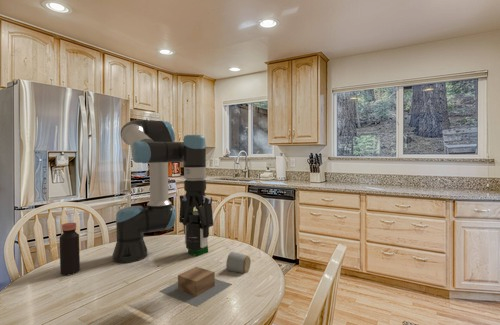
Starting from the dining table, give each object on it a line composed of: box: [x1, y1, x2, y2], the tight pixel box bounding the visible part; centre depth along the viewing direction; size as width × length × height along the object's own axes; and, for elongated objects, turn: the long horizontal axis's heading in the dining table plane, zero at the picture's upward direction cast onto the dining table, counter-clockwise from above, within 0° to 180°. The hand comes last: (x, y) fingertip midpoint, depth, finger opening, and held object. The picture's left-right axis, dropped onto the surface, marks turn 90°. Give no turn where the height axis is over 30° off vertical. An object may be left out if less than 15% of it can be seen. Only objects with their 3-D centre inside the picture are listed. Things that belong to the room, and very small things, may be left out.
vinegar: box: [59, 222, 81, 276], centre depth 116 cm, size 7×7×20 cm
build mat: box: [158, 278, 233, 307], centre depth 100 cm, size 18×18×1 cm
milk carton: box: [187, 210, 209, 257], centre depth 138 cm, size 9×9×20 cm
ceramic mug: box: [225, 251, 251, 274], centre depth 117 cm, size 11×8×8 cm
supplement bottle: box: [185, 213, 205, 250], centre depth 99 cm, size 7×7×12 cm
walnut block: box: [177, 266, 216, 296], centre depth 100 cm, size 9×9×5 cm
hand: (196, 244), depth 99 cm, fingers closed on supplement bottle, 7 cm apart
